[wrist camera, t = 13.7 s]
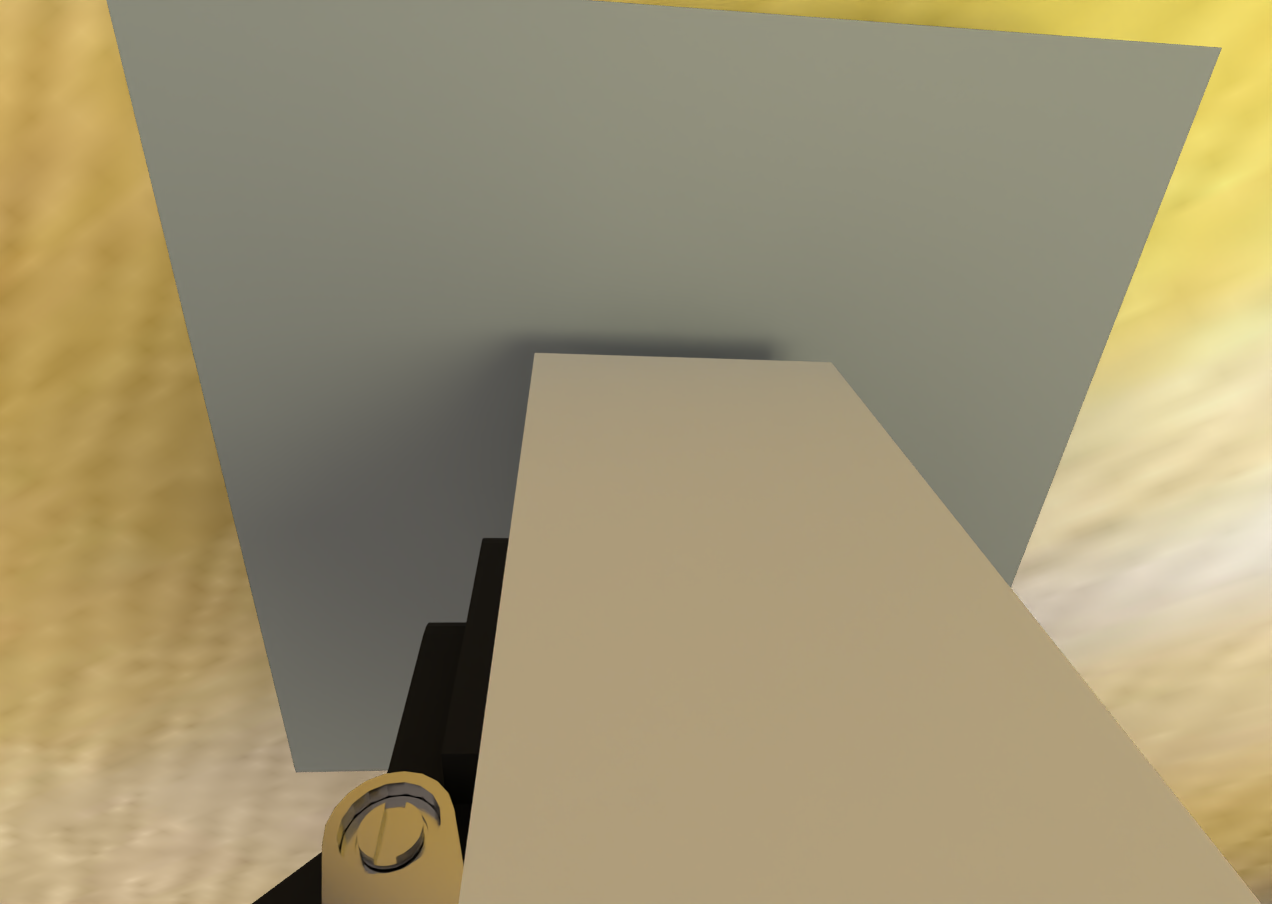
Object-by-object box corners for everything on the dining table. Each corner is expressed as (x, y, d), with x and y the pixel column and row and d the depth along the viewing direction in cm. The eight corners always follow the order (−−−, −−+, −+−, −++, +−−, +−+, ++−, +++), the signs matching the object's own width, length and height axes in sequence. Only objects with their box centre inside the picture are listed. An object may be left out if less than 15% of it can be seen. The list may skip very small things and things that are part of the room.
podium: (889, 652, 23) (943, 758, 20) (340, 656, 22) (296, 772, 18) (1074, 46, 15) (1222, 47, 12) (218, -17, 14) (98, -37, 10)
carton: (831, 362, 12) (1418, 1102, 4) (769, 664, 16) (1005, 1423, 7) (534, 352, 12) (421, 1166, 3) (536, 666, 15) (483, 1477, 7)
